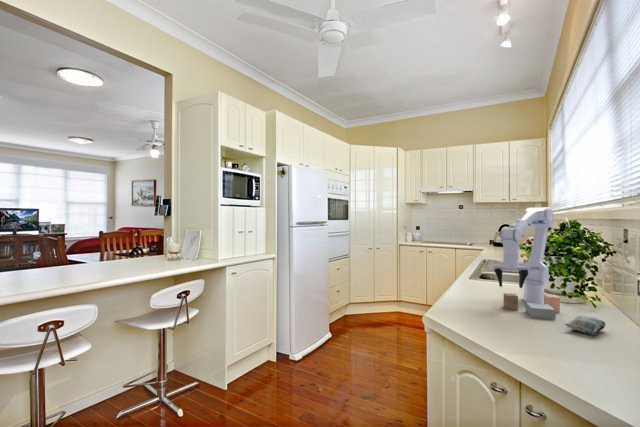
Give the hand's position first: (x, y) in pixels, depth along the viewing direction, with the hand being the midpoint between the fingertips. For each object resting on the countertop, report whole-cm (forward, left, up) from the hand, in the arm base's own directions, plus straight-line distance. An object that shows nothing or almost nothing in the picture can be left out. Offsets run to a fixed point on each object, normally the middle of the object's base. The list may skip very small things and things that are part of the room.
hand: (510, 286), depth 140 cm
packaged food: (+22, +18, -10) cm, 30 cm away
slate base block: (+7, +9, -10) cm, 15 cm away
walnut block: (0, 0, -9) cm, 9 cm away
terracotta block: (-3, +16, -9) cm, 19 cm away
